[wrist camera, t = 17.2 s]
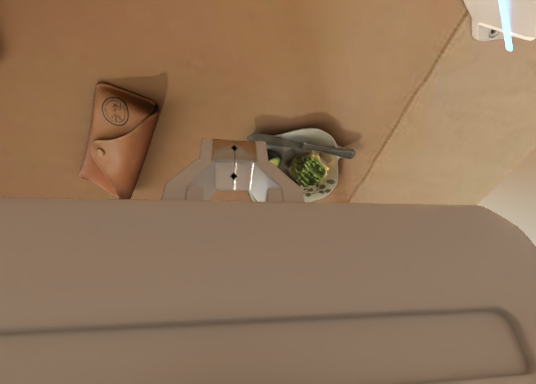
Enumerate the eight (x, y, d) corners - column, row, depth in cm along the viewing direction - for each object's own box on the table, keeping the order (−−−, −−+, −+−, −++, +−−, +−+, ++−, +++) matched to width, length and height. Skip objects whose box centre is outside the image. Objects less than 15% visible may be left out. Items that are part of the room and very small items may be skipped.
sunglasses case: (91, 78, 37) (109, 110, 34) (146, 86, 42) (165, 115, 39) (77, 179, 47) (89, 210, 44) (123, 175, 52) (136, 203, 49)
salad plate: (352, 104, 44) (363, 119, 41) (351, 187, 57) (359, 204, 53) (229, 133, 45) (230, 150, 42) (254, 209, 57) (256, 227, 54)
